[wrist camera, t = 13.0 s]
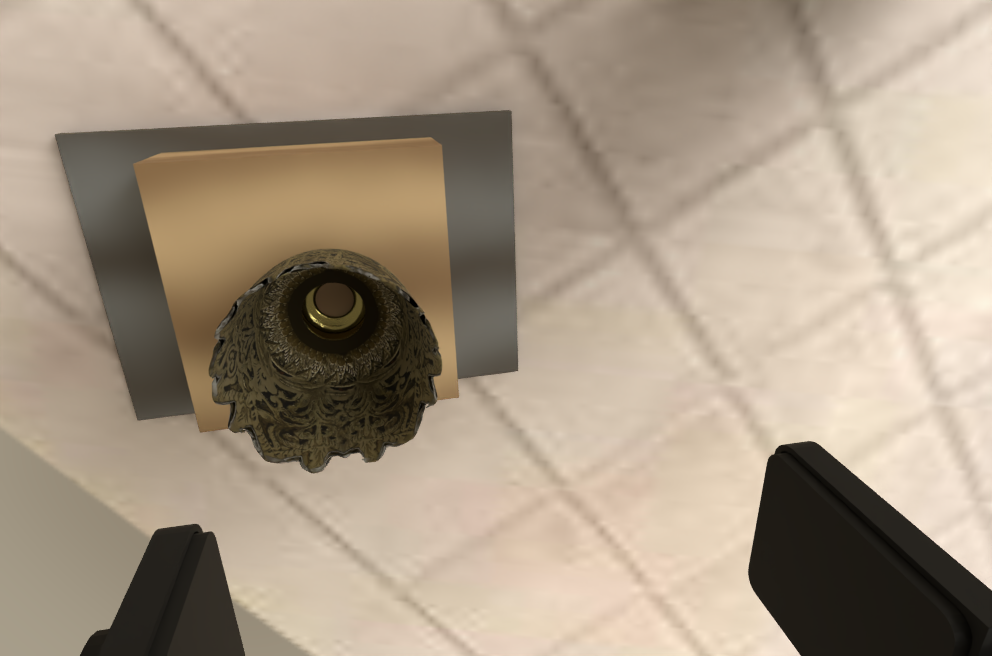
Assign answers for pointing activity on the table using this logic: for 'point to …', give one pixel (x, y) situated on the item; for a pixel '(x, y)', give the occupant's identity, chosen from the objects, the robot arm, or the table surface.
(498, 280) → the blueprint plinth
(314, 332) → the cup
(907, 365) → the table surface
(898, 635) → the robot arm
